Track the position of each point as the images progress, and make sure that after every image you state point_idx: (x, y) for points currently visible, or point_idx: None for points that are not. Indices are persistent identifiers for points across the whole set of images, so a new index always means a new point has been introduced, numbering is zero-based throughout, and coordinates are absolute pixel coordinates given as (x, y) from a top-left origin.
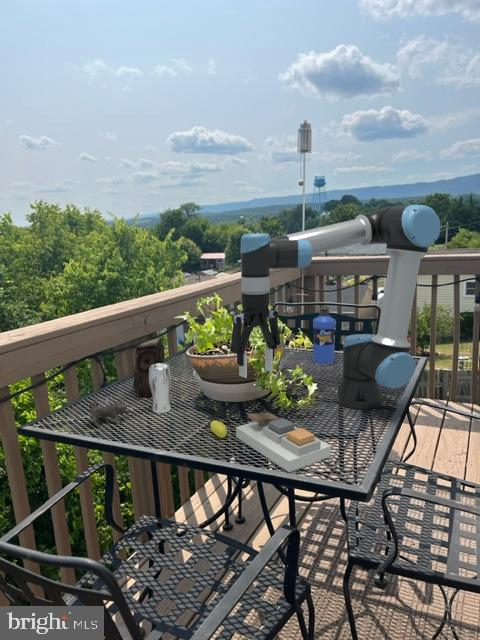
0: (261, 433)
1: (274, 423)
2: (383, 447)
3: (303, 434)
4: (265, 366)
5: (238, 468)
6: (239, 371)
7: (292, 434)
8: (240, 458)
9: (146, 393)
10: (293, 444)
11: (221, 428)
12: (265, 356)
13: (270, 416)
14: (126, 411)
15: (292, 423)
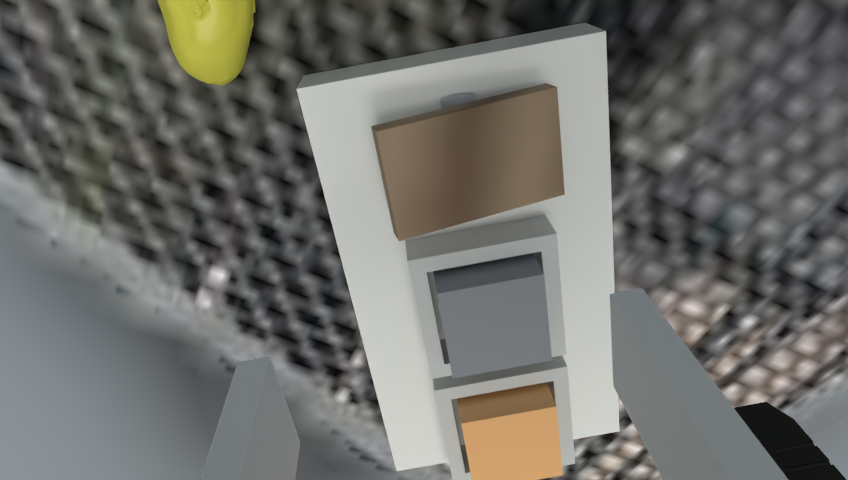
0: None
1: (460, 319)
2: (820, 408)
3: (520, 459)
4: (627, 329)
5: (219, 353)
6: (227, 399)
7: (474, 445)
8: (252, 288)
9: None
10: (452, 454)
11: (200, 67)
12: (688, 433)
13: (516, 165)
14: None
15: (547, 352)
